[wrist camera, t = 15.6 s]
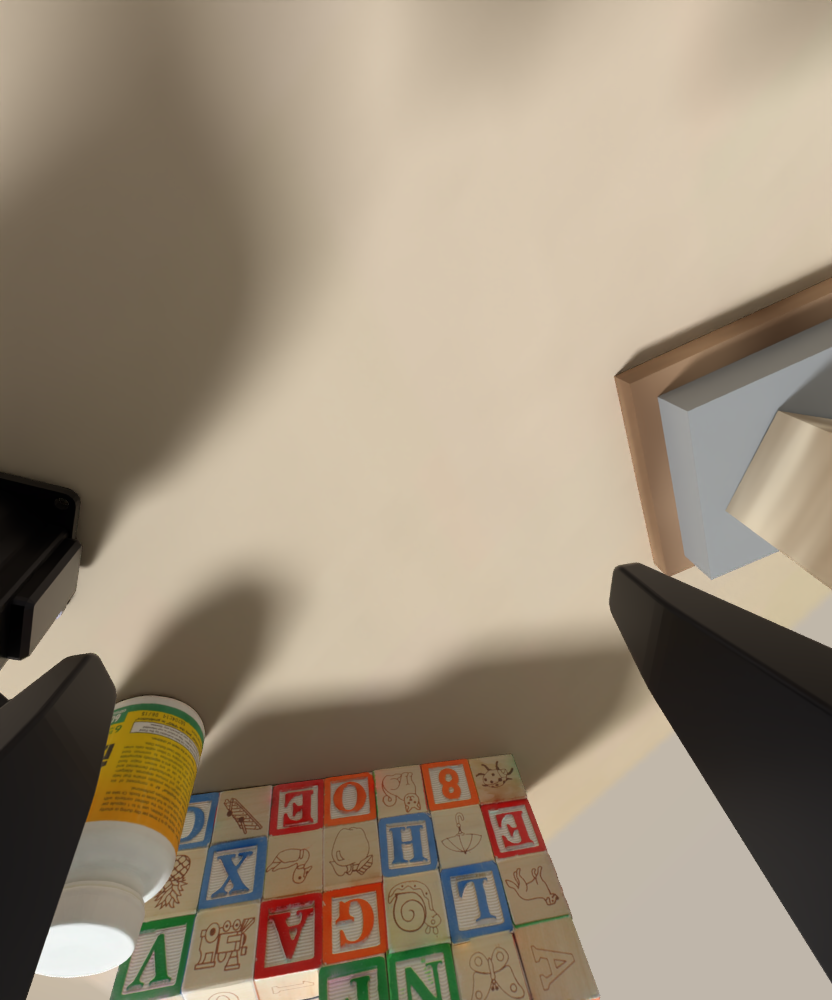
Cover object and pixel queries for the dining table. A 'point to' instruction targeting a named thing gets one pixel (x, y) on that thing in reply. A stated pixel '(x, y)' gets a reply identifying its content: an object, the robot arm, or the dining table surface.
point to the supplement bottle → (126, 836)
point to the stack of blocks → (362, 894)
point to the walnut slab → (679, 369)
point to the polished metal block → (792, 492)
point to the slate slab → (737, 439)
